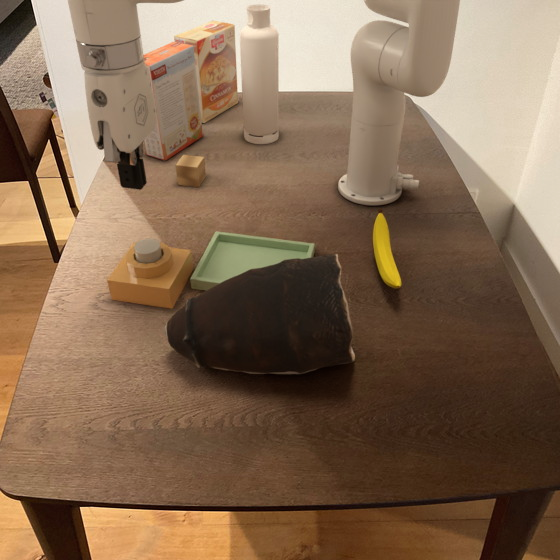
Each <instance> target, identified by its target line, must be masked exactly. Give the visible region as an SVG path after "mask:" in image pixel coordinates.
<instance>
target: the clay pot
mask: <svg viewBox="0 0 560 560" xmlns="http://www.w3.org/2000/svg"><path fill="white" fill-rule="evenodd" d="M342 268H343V267H342V265H341V263H340V259H339V254H338V253H329V254H323V255H318V256H313V257H312V258H305V259H300V258H296V259H287V260H283V261H282V262H280V263H277V264H274V265H270V266H266V267H262V268H255V269H250V270H248V271H246V272H244V273H242V274H240V275H237V276H234V277H232V278H230V279H227V280H225V281H223V282H221V283H220V284H218V285H216V286H214V287H212V288H210V289H208V290H207V291H205V290H204V291H203V292H201V293H200V294H199V295H198V296H193V297H190V298H188V299H187V300H186V302H185V304H184V306H183V307H181V308H180V309H179V310H177V311H175V313H174V314H172V316H171V317H170V318H169V319H167V321H166V323H165V326H164V334H165V335H164V336H165V338H166V340H167V343H168V344H169V346H170V347H171V348H172V349H173V350H174V351H175V352H177V354H179V355H180V356H182V357H183V358H185V359H186V360H187V361H189V362H190V363H192V364H193V365H195V366H196V367H197V368H201V367H202V368H212V369H217V370H223V371H231V372H232V371H233V372H241V373H246V374H249V375H251V374H252V375H264V374H266V375H267V374H272V375H273V374H275V375H303V374H306V373H309V372H313V371H316V370H319V369H322V368H326V367H333V366H338V365H345V364H350V363H353V362H354V361H355V359H356V354H355V352H354V350H353V346H352V343H353V340H354V330H353V324H352V321H351V313H350V309H349V303H348V299H347V297H346V293H345V291H344V289H343V285H342V273H343V272H342Z"/></svg>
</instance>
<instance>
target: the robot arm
mask: <svg viewBox="0 0 560 560" xmlns="http://www.w3.org/2000/svg"><path fill="white" fill-rule="evenodd" d="M183 1H184V0H67V4H68V8H69V13H70V18H71V23H72V28H73V32H74V38H75V43H76V47H77V52H78V57H79V62H80V66H81V69H82V70H83V74H84V75H83V77H84V88H85V89H84V90H85V99H86V106H87V114H88V119H89V124H90V130H91V134H92V138H93V141H94V145H95V147H96V148H97V150H99V151H103V155H104V162H105V163H107V164H113V165H115V164H116V167H117V172H118V177H119V182H120V183H119V184H120V186H121V188H124V189H132V190H139V191H140V190H143V188H144V187H145V186H146V185H147V182H148V181H147V174H146V169H145V163H144V158H143V157H144V152H145V151H144V140H145V139H146V137H147V136H148V135H149V134H150V133H151V132H152V131H153V129H154V128H155V126H156V124H157V118H156V111H155V105H154V99H153V94H152V89H151V84H150V79H149V75H148V71H147V68H146V64H145V61H144V56H143V55H144V49H143V41H142V35H141V28H140V20H139V19H140V18H139V14H138V13H139V12H138V4H176V3H181V2H183ZM363 1H364V5H365V6H366V7H367V9H369V10H370V11H371V12H374V13H375V14H378V15H380V16H383V17H386V18H389V19H393V20H396V21H399V22H402V23H405V24H407V25H408V26H407V25H403V24H399V23H397V22H393V21H389V20H373V21H372V20H371V21H369V22H367V23H364V25H362V26H361V27H360V28H359V29H358V30H357V32H356V34H355V35H354V37H353V39H352V42H351V47H350V66H351V67H350V68H351V75H352V86H353V87H352V90H353V91H352V109H351V121H350V131H349V132H350V133H349V145H348V158H347V170H346V173H345V174H343V175H342V176H341V177H340V178H339V180H338V184H337V190H338V192H339V194H340V196H342V197H343V198H345V199H346V200H347V201H350V202H352V203H355V204H358V205H363V206H384V205H388V204H391V203H394V202H395V201H396V200H398V199H399V198H400V197H401V196H402V192H403V189H407V190H413V191H418V190H419V185H420V180H419V179H414V174H409V173H402V172H400V171H399V167H400V165H399V164H398V163H399V155H400V149H401V143H402V137H403V136H402V135H403V128H404V121H405V115H406V96H405V94H408V95H410V96H413V97H418V98H425V97H429V96H431V95H433V94H435V93H436V92H437V91H438V90H440V88H441V87H442V85H443V84H444V81H445V80H446V78H447V75H448V73H449V69H450V66H451V61H452V56H453V51H454V50H453V49H454V43H455V36H456V31H457V24H458V16H459V11H460V5H461V0H363Z"/></svg>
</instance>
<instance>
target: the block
mask: <svg viewBox="0 0 560 560" xmlns="http://www.w3.org/2000/svg"><path fill="white" fill-rule="evenodd" d="M175 172H176V179H177V185H178V186H183V187H184V186H185V187H195V188H200V186H202V183H203V182H204V181H205V179H206V178H207V174H206V173H207V172H206V163H205V157H204V156H198V155H190V154H189V155H188V154H182V156H181V157H180V158H179V159H178V161H177V162H176V164H175Z"/></svg>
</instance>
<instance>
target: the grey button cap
mask: <svg viewBox="0 0 560 560" xmlns="http://www.w3.org/2000/svg"><path fill="white" fill-rule="evenodd" d="M160 242H161V241H159V240H157V239H156V238H152V237H151V238H143V239H141V240H138V241H137V242H135V243H136V244H135V245H134V251H135V256H136V260H137V261H138V262H139V263H145V264H148V263H153V262H156V261H158V260H159V259H161V257H162V251H161V245H160Z"/></svg>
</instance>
